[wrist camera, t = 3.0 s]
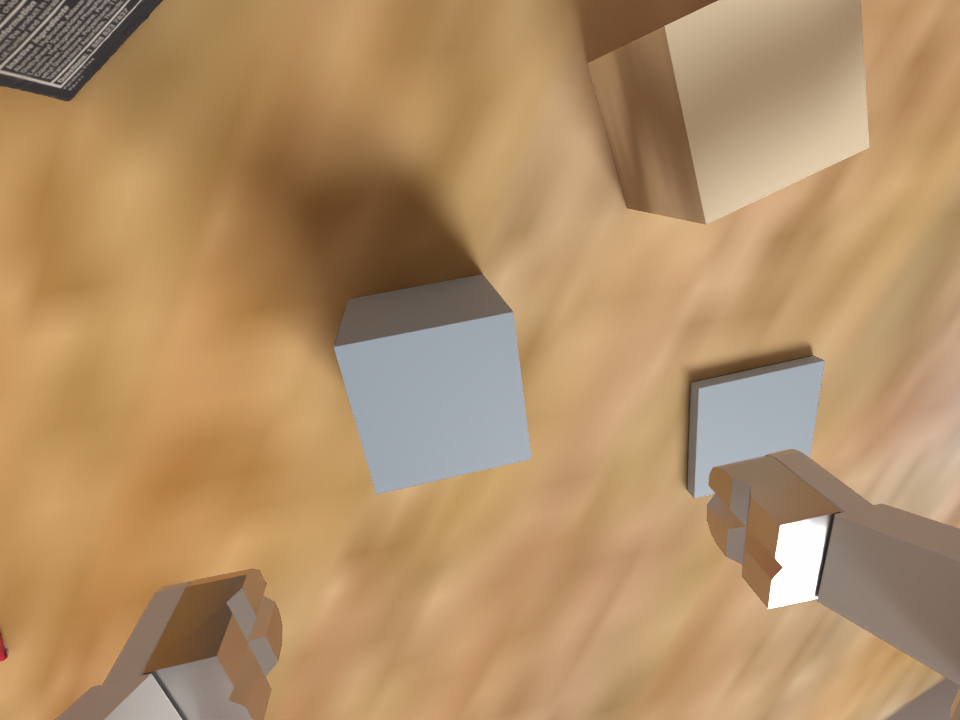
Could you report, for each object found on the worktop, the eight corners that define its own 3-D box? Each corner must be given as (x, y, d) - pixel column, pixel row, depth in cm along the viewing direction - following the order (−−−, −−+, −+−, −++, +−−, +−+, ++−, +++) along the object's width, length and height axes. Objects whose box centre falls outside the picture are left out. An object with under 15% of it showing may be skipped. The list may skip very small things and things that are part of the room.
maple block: (748, 150, 18) (869, 147, 13) (626, 207, 18) (706, 224, 13) (723, -2, 16) (856, -66, 11) (586, 64, 16) (664, 26, 11)
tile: (798, 463, 24) (807, 470, 24) (687, 490, 24) (694, 498, 23) (813, 355, 22) (824, 360, 21) (690, 382, 21) (698, 388, 21)
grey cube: (499, 391, 20) (531, 459, 16) (379, 416, 20) (376, 494, 15) (482, 273, 18) (513, 312, 14) (348, 298, 18) (333, 347, 13)
